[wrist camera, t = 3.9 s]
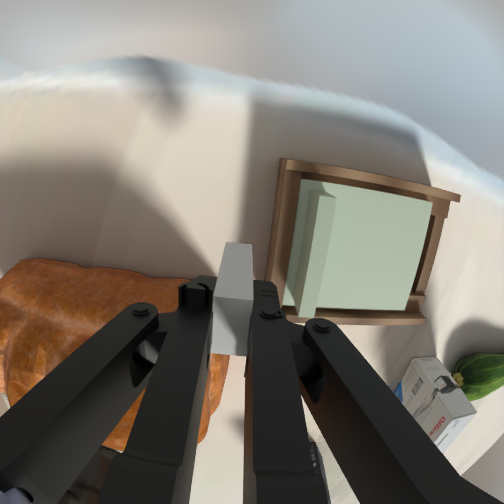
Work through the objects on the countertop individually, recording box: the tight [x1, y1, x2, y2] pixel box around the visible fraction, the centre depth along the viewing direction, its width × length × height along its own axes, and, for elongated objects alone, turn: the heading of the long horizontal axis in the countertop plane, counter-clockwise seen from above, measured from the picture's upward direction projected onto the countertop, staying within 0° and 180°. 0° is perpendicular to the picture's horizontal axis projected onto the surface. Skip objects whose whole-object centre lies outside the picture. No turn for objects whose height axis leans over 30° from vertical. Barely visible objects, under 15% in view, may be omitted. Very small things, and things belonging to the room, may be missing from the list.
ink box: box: [394, 357, 477, 454], centre depth 29 cm, size 8×5×12 cm, turn 172°
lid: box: [282, 178, 433, 318], centre depth 22 cm, size 12×10×4 cm
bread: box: [0, 259, 230, 451], centre depth 23 cm, size 14×26×16 cm, turn 83°
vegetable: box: [451, 353, 504, 401], centre depth 32 cm, size 7×7×20 cm
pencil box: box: [265, 158, 461, 325], centre depth 25 cm, size 16×13×5 cm
